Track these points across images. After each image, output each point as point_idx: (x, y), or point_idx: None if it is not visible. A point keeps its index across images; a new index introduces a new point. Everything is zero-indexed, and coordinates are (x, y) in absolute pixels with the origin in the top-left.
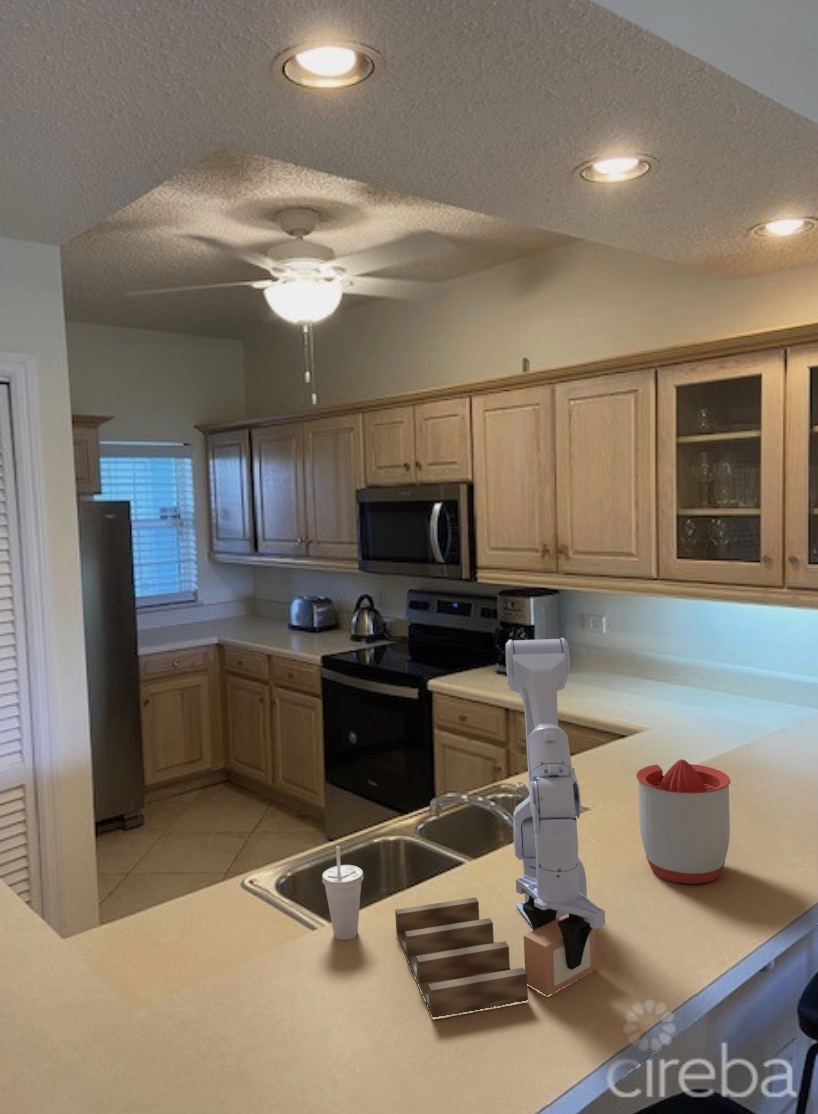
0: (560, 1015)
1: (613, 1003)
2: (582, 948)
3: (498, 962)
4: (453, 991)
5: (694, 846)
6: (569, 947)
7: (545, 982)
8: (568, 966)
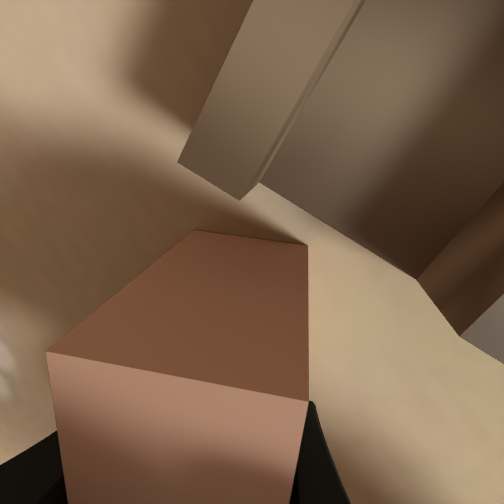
0: (94, 174)
1: (44, 331)
2: None
3: (471, 246)
4: None
5: None
6: (40, 446)
7: (179, 249)
8: None
